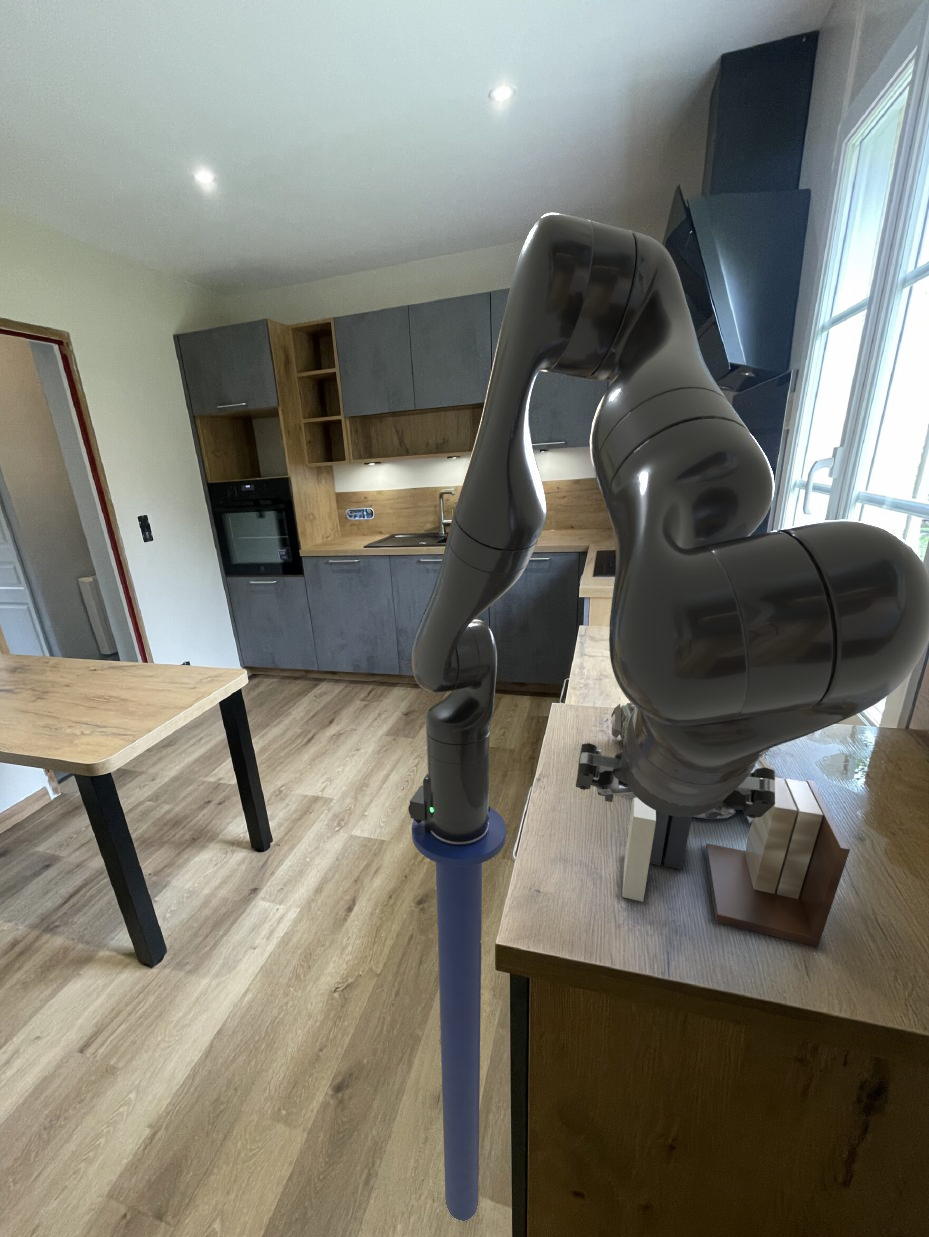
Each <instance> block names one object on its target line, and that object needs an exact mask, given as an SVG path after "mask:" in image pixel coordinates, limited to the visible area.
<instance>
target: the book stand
mask: <svg viewBox="0 0 929 1237" xmlns="http://www.w3.org/2000/svg"><path fill="white" fill-rule="evenodd" d="M783 778H784V777H782V778H777V777H775V805H774V806H772V807H771V808H770V809H769V810H768V811H767V812H766V813H765V814H764V815H763V816H761V817H756V818H753V820H752V822H751V823H750V824H751V825H750V828H749V833H748V836H747V841H746V845H745V850H743V849H738V848H733V847H728V846H722V845H718V844H712V843H706V844H705V848H704V852H705V858H706V860H705V861H706V866H707V872H708V879H709V880H708V881H709V886H710V893H711V900H712V905H713V907H712V908H713V914H714V919H715V923H717V924H721V925H724V926H725V925H726V926H730V927H734V928H737V929H738V928H739V929H743V930H747V931H751V932H755V933H760V934H764V935H767V936H772V937H776V938H780V939H784V940H788V941H792V942H796V943H801V944H805V945H809V946H814V947H817V948H818V947H819V946H820V942H821V939H822V937H823V933H824V931H825V927H826V924H827V922H828V918H829V915H830V913H831V909H832V906H833V903H834V900H835V898H836V894H837V891H838V887H839V885H840V883H841V878H842V876H843V873H844V870H845V866H846V863H847V860H848V857H849V855H850V851H851V849H850V846H849V845H848V843H847V841H846V839H845V837H844V836H843V833H842V832H841V830H840V828H839V826H838V823H837V821H836V820H835V818H834V816H833V814H832V812H831V809H830V808H829V807H828V805H827V803H826V801H825V798H824V797H823V795H822V793H821V791H820V789H819V786H817V784H816V781H814V780H811V779H810V780H809V779H807V780H806V781H803V780H797V779H791V778H784V779H785V781H784V779H783Z"/></svg>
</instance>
